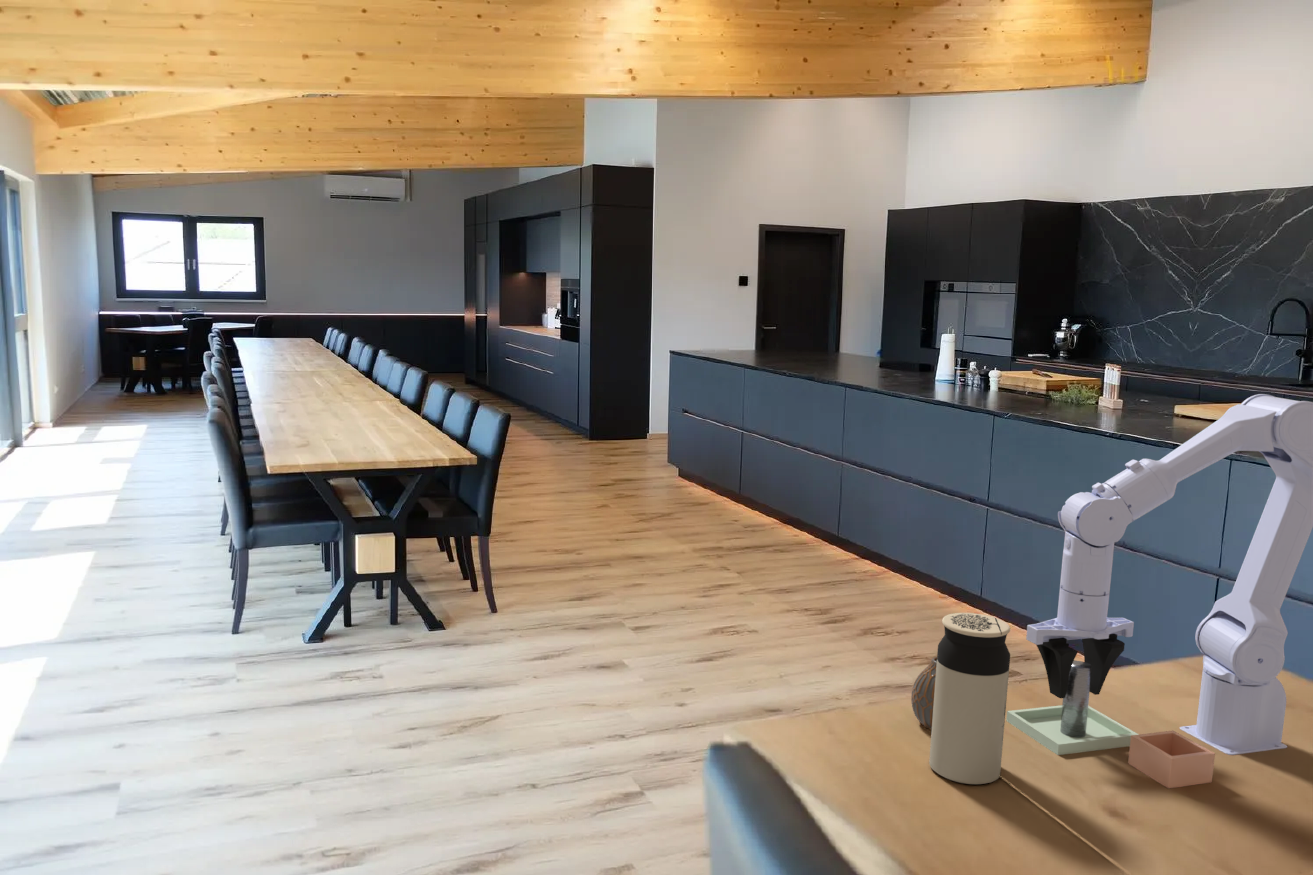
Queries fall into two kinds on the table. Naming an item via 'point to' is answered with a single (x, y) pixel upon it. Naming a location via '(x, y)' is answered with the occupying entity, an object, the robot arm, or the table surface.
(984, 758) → the travel mug
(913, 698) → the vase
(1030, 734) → the tray
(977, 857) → the table surface
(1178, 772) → the salmon open box
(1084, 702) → the dowel
